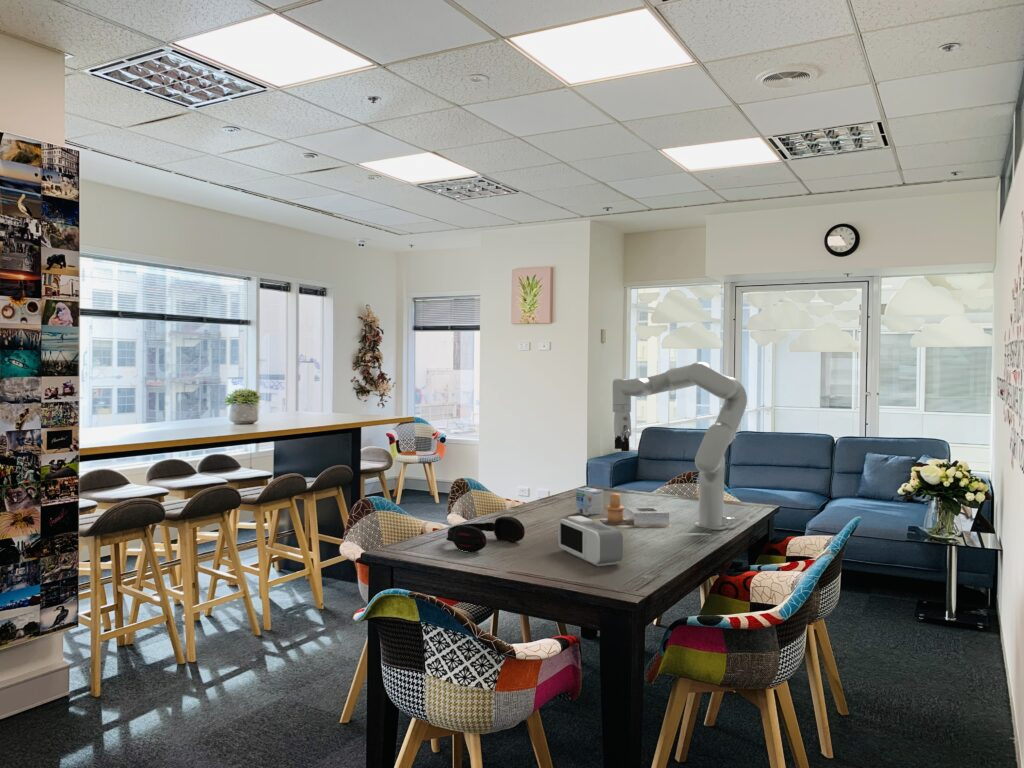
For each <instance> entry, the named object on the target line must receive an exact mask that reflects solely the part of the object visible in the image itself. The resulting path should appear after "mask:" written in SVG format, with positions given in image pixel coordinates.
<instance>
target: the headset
mask: <svg viewBox="0 0 1024 768" xmlns="http://www.w3.org/2000/svg"><path fill="white" fill-rule="evenodd" d="M524 526H525V525H523V523H522V521H520V519H518V518H516V517H514V516H499V517H497V518H496V519H495V520H494V522H483V523H482V522H474V523H463V524H458V525H457V524H456V525H454V526H451V527H449V528H448V529H447V537H445V540H446V541H449V542H452V543H453V544H454V545H455V547H456V549H457V548H458V549H460V550H463V551H468V552H471V553H476V552H479V551H481V550H483V549H484V548H485V547H486V545H487V542H488V543H493V542H494V543H495V542H497V541H496V540H492V541H491V540H490V541H488V540H487V537H486V534H485V532H493V534H494V536H495V538H496V539H497V540H498V539H499V540H498V541H501V540H502V541H501V542H505V541H508V543H513V542H519V541H522V540H523V539H524V537H525V532H526V531H525V527H524ZM458 549H457V550H458ZM460 550H459V551H460ZM463 551H462V552H463ZM468 552H467V553H468Z"/></svg>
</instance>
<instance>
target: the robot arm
mask: <svg viewBox="0 0 1024 768" xmlns="http://www.w3.org/2000/svg"><path fill="white" fill-rule="evenodd" d="M695 386H698V387H699V388H701V389H703V390H705V391H707V392H708V393H710V394H711V395H713V396H715V397H716V398H719V399H721V400H724V402H723V405H722V407H721V408H720V411H719V413H718V416H717V418H716V420H715V422H714V423H713V424H712V425H710V426H709V427H708V428H707V430H706V432H705V434H704V436H703V437H702V441H701V443H700V444H699V445H700V446H699V447H698V450H697V452H696V455H695V458H694V465H695V467H696V469H697V470H698V471H699V475H698V521H696V522H695V523H694V525H695V526H697V527H700V528H705V529H707V530H709V531H721V530H727V529H728V526H729V525H728V524H729V523H731V524H732V523H733V524H734V523H736V521H737V520H736V517H728V516H725V515H724V512H725V511H724V510H725V509H724V506H725V504H724V503H725V502H724V500H725V498H724V494H725V493H724V492H725V491H724V489H725V469H726V458H725V453H726V451H727V449H728V447H729V446H730V444H732V443H733V441H734V438H735V437H736V433H737V431H738V428H739V425H740V424H741V421H742V418H743V416H744V413H745V411H746V407H747V403H748V396H747V392H746V389H745V387H744V386H743V384H742V383H741V382H740V380H738V379H737V378H735V377H732V376H726V375H725V374H723V373H720V371H717V370H715V369H714V368H712V366H711V365H710V364H709V363H707V362H703V361H695V362H694V363H692V364H687V365H684V366H679V367H676V368H671V369H668V370H666V371H665V372H662V373H659V374H656V375H652V376H648V377H647V376H646V377H639V378H638V377H637V378H630V379H629V378H615V379H613V380H612V413H614V418H613V432H614V433H613V434H614V449H615V450H621V452H629V451H630V437H631V436H632V420H631V412H632V397H641V398H642V397H648V396H651V395H656V394H661V393H664V392H668V391H669V392H671V391H676V390H681V389H685V388H689V387H695Z"/></svg>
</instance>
